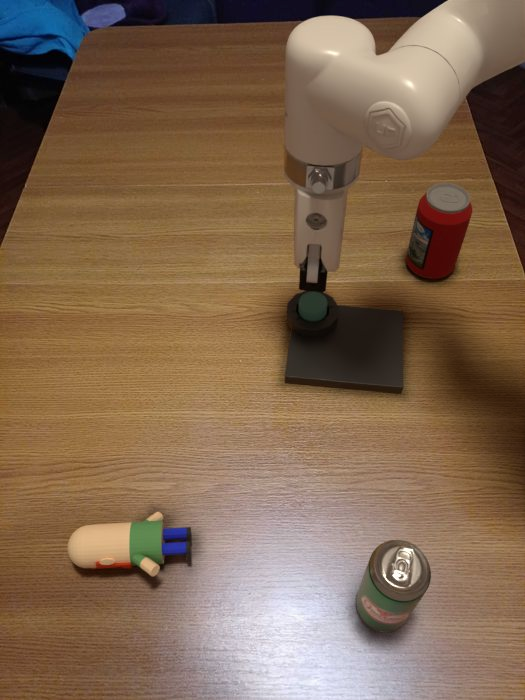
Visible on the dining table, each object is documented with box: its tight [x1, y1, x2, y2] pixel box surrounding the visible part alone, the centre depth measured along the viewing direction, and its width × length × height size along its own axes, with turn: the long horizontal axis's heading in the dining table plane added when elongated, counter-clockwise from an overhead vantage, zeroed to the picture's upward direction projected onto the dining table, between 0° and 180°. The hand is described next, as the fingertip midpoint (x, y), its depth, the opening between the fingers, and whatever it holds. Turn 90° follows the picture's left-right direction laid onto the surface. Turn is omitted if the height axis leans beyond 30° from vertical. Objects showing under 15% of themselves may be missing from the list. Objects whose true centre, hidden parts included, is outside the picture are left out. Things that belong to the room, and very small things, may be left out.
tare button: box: [298, 292, 328, 322], centre depth 77 cm, size 4×4×2 cm
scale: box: [284, 290, 404, 395], centre depth 77 cm, size 15×13×3 cm
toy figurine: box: [66, 511, 193, 577], centre depth 61 cm, size 8×4×12 cm
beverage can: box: [405, 182, 473, 279], centre depth 81 cm, size 7×7×12 cm
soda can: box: [355, 539, 432, 633], centre depth 54 cm, size 5×5×12 cm
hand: (312, 286), depth 74 cm, fingers closed
